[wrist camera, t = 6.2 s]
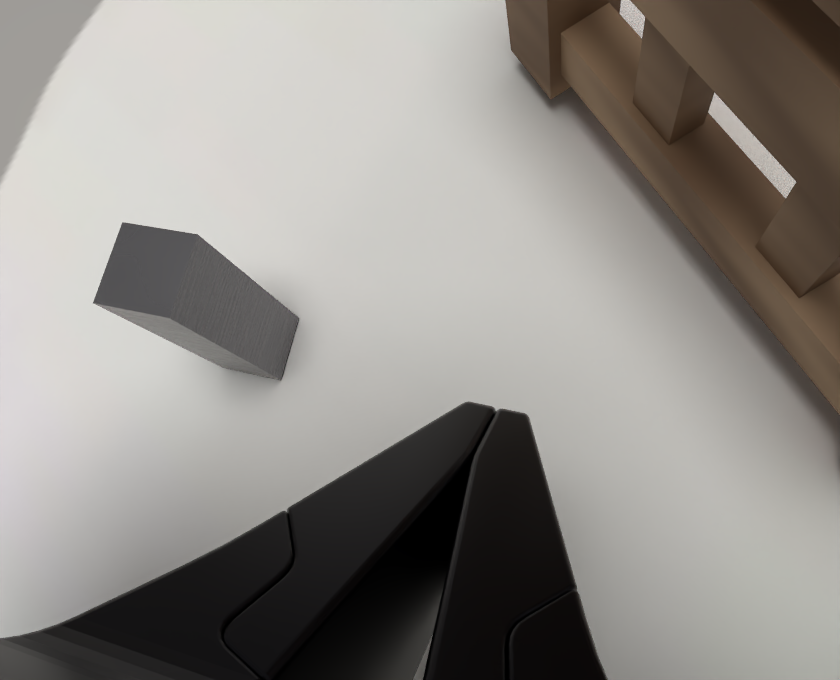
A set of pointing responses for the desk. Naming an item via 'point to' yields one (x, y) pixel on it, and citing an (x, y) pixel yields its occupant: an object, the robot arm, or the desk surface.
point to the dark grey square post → (196, 300)
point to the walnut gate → (721, 137)
